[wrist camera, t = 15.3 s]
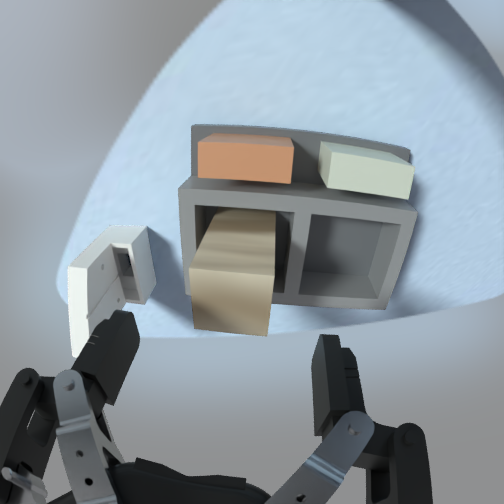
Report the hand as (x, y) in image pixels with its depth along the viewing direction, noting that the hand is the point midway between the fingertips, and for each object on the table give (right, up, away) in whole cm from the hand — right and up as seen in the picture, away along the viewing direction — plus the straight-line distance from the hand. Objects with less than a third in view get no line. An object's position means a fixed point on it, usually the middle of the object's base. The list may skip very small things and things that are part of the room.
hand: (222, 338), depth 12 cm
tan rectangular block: (+1, +5, +10) cm, 11 cm away
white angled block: (-9, +3, +13) cm, 16 cm away
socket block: (+5, +7, +9) cm, 12 cm away
